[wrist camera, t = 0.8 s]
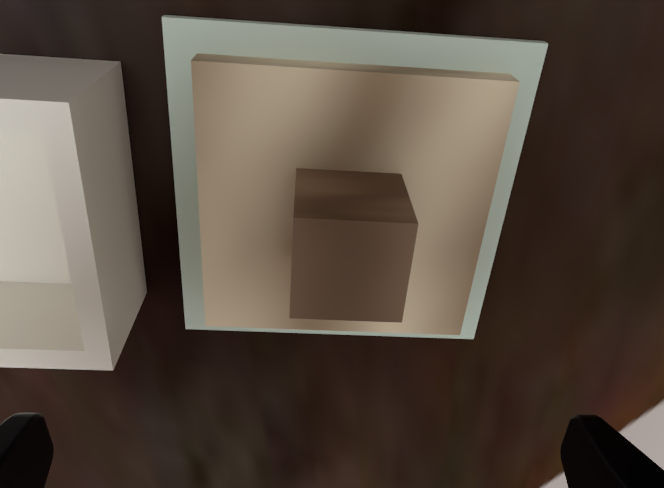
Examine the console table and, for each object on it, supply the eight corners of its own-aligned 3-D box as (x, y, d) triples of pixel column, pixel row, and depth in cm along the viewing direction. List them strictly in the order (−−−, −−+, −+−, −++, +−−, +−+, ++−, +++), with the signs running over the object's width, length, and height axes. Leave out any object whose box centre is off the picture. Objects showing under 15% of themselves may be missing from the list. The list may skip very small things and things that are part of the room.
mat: (544, 40, 18) (548, 43, 18) (471, 333, 24) (473, 339, 24) (164, 14, 17) (161, 16, 17) (187, 322, 24) (185, 328, 23)
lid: (509, 73, 18) (563, 117, 14) (454, 319, 23) (483, 400, 19) (196, 53, 18) (164, 93, 14) (209, 310, 23) (188, 392, 19)
